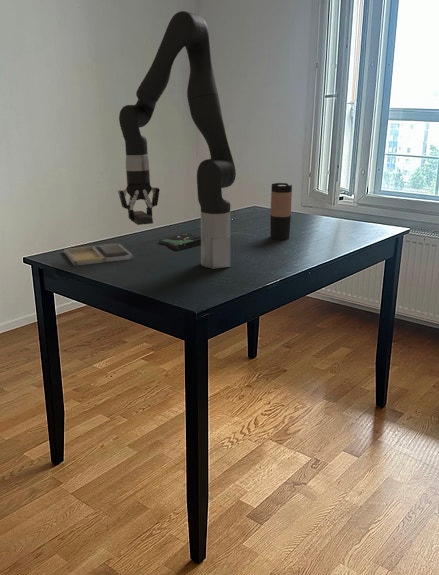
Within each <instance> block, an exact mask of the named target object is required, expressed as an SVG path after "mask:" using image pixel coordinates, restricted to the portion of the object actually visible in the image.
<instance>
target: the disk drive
mask: <svg viewBox="0 0 439 575" xmlns="http://www.w3.org/2000/svg"><path fill="white" fill-rule="evenodd" d="M158 241H159V242H158V244H160V245H161V244H162V245H163V246H165V247H166V248H168V249H171V250H174V251H178V252H180V251H183V250H187V249H191V248H194V247H198V246H201V235H198V234H194V235H193V234H192V233H189V232H186V233H182V234H178V235H175V236H170V237H165V238H163V239H159V240H158Z"/></svg>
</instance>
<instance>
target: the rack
mask: <svg viewBox="0 0 439 575" xmlns="http://www.w3.org/2000/svg"><path fill="white" fill-rule="evenodd" d="M116 244H117V245H118V246H119V247H120V248H121V249H122V250H124V251H125V255H124V256H115V257H106V258H105V257H104V256H103V255H102V254H101V253H100V252H99V251H98V245H90V246H89V245H88V246H80V247H71V248H64V249H63V253H64V254H65V256H66V257H67V258H68V259H69V261H70V262H71V264H72V265H73V266H75V267H77V266H85V265H92V264H93V265H94V264H101V263H111V262H120V261H121V262H122V261H129V260H134V254H133V253H131V252H130V251H129V250H128V249H126V248H125V246H123V245H122V243H121V244H120V243H119V242H118V243H116Z"/></svg>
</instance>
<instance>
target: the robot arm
mask: <svg viewBox="0 0 439 575" xmlns="http://www.w3.org/2000/svg"><path fill="white" fill-rule="evenodd" d="M183 48H185V49H186V53H187V57H188V62H189V78H188V82H187V83H188V84H187V90H186V94H187V95H186V97H187V103H188V108H189V112H190V117H191V119H192V121H193V123H194V125H195V126H196V128H197V130H198V131H199V132H200V133H201V135H202V136H203V138H204V139H205V142H206V144H207V147H208V151H209V154H210V158H207V159H204V160H202V161H201V162H200V163H199V165H198V167H197V170H196V186H197V199H198V200H197V201H198V203H199V206H200V236H201V245H200V265H201V266H202V267H204V268H210V269H213V270H214V269H221V268H229V267H231V203H230V201H228V200H226V199H224V198H223V193H222V191H223V190H222V189H226V188H229V187H231V186H232V185H233V184H234V183H235V180H236V176H237V174H236V172H237V170H236V165H235V162H234V159H233V154H232V152H231V148H230V146H229V142H228V138H227V134H226V129H225V128H226V127H225V124H224V120H223V115H222V108H221V103H220V97H219V92H218V89H217V88H218V87H217V84H216V79H215V78H216V77H215V72H214V67H213V63H212V55H211V44H210V34H209V28H208V24H207V22H206V21H205V19H204V18H203V17H202V16H200V15H198V14H196V13H192V12H189V11H185V10H184V11H183V10H182V11H181V10H180V11H178V12H176V13H175V14H173V16H172V17H171V19H170V21H169V22H168V25H167V26H166V30H165V32H164V34H163V37H162V40H161V43H160V45H159V47H158V49H157V52H156V54H155V57H154V58H153V62H152V63H151V65H150V67H149V69H148V70H147V73H146V74H145V76H144V78H143V79H142V81H141V83H140V85H139V86H138V88H137V90H136V97H137V101H136V103H135V104H128V105H127V104H125V105H124V106H123V107H122V108H121V110H120V111H119V115H118V121H119V126H120V130H121V134H122V137H123V139H124V142H125V143H124V145H125V172H126V173H125V174H126V185H127V186H126V187H125V188H124V189H122V190H121V189H119V190H118V191H117V194H118V197H119V200H120V203H121V207H122V208H124V209H126V210H127V214H128V220H130V221H131V222H133V221H134V211H135V210H134V206H135V204H136V201H140V200H142V201H144V202H145V205H146V210H145V211H146V214H148V215H150V216H151V217H152V218H153V208H154V207H157V206H158V203H159V196H160V188H159V187H153V186H152V185H151V179H150V178H151V176H150V162H149V161H150V160H149V155H148V154H149V153H148V141H147V138H146V136H143V135H142V134H141V130H140V128H143V127H146V125H147V124H149V122H150V120H151V119H152V117H153V114H154V111H155V108H156V105H157V102H158V101H159V99H160V98H161V97H162V95H163V93H164V91H165V90H166V88H167V86H168V84H169V81H170V77H171V71H172V67H173V65H174V62H175V60H176V58H177V56H178V55H179V53H180V52H181V51H182V50H183ZM150 193H152V199H150V197H149V194H150ZM127 194H128V195H129V199H128V202H127V199H126V196H127Z"/></svg>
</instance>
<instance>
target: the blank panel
mask: <svg viewBox="0 0 439 575" xmlns="http://www.w3.org/2000/svg"><path fill="white" fill-rule="evenodd" d="M97 246H98V251H99V252H100V253H101V254H102V255H103V256H104V257H105V258H106V257H115V256H124V255H125V251H124V250H122V249H121V248H120V247H119V246H118V245H117V243H116V242H115V243H105V244H97Z"/></svg>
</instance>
